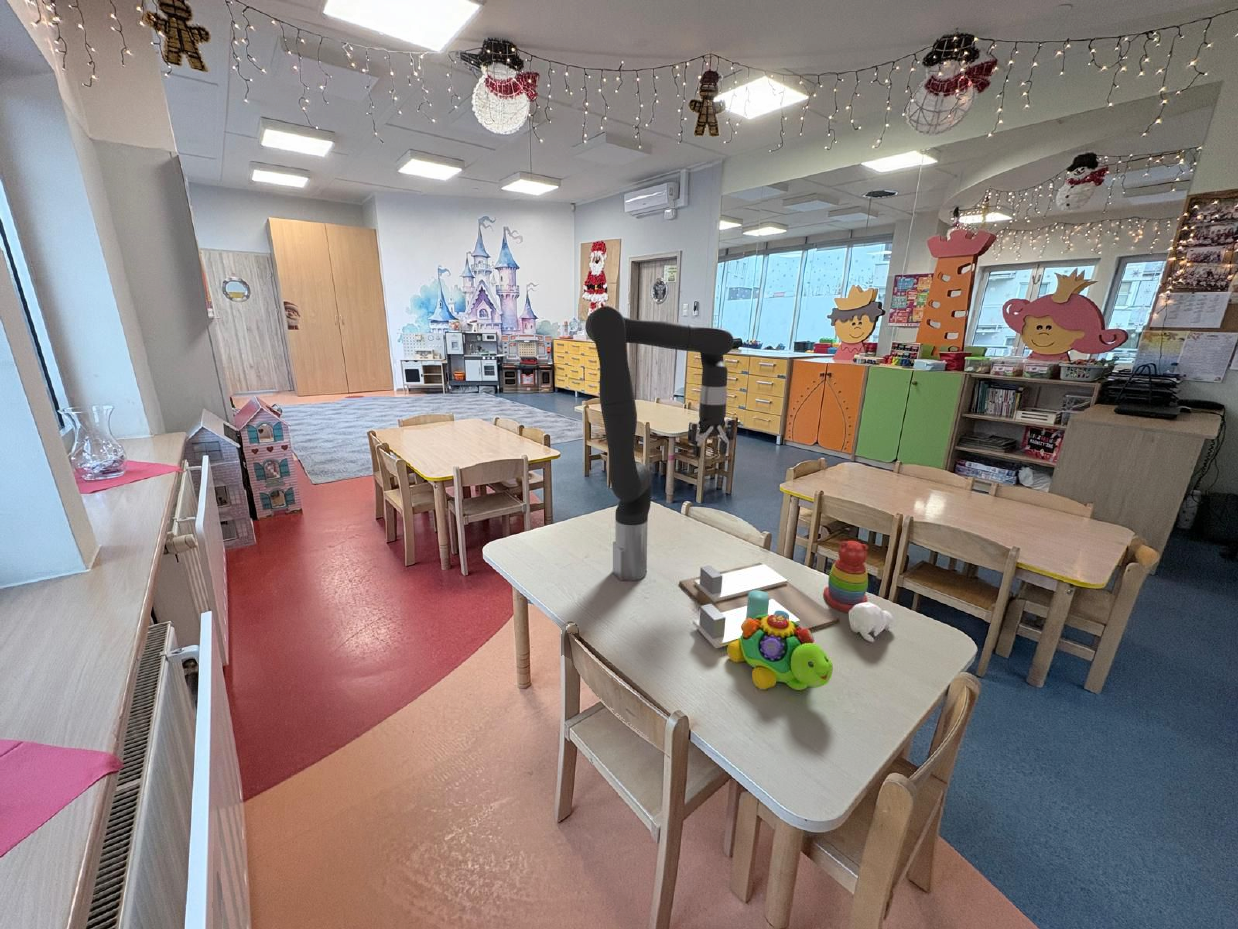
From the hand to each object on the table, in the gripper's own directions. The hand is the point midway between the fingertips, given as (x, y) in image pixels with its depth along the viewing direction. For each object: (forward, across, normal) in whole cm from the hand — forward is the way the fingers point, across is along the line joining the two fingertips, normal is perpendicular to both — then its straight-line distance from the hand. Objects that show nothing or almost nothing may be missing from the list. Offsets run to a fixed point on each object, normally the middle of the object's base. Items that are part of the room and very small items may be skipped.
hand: (709, 456), depth 147 cm
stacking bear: (+33, +21, -36) cm, 53 cm away
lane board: (+33, -1, -26) cm, 42 cm away
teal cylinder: (+31, -7, -35) cm, 47 cm away
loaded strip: (+32, -10, -35) cm, 48 cm away
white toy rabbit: (+33, +17, -48) cm, 61 cm away
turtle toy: (+34, -12, -51) cm, 62 cm away
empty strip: (+32, 0, -19) cm, 37 cm away
